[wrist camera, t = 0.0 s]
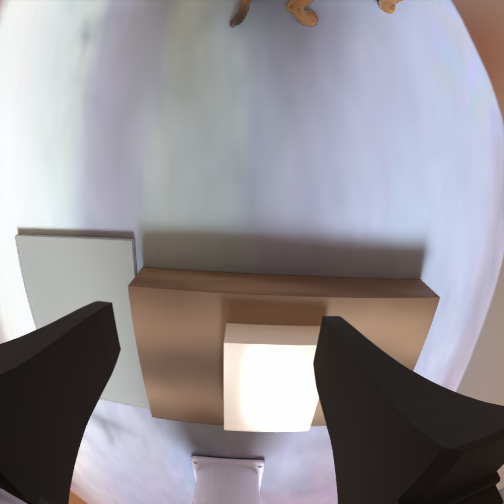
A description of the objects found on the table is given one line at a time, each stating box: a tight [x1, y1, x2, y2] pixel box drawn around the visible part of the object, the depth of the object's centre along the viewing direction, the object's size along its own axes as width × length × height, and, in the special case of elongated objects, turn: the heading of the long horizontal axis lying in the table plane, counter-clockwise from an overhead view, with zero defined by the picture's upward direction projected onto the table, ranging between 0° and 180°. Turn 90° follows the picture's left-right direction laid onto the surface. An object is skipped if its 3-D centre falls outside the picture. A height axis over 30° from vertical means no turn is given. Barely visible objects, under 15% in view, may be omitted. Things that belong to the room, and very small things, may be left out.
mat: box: [15, 234, 150, 409], centre depth 22 cm, size 16×11×1 cm
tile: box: [224, 323, 320, 432], centre depth 18 cm, size 8×6×2 cm
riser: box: [128, 267, 440, 426], centre depth 21 cm, size 12×20×3 cm, turn 87°
